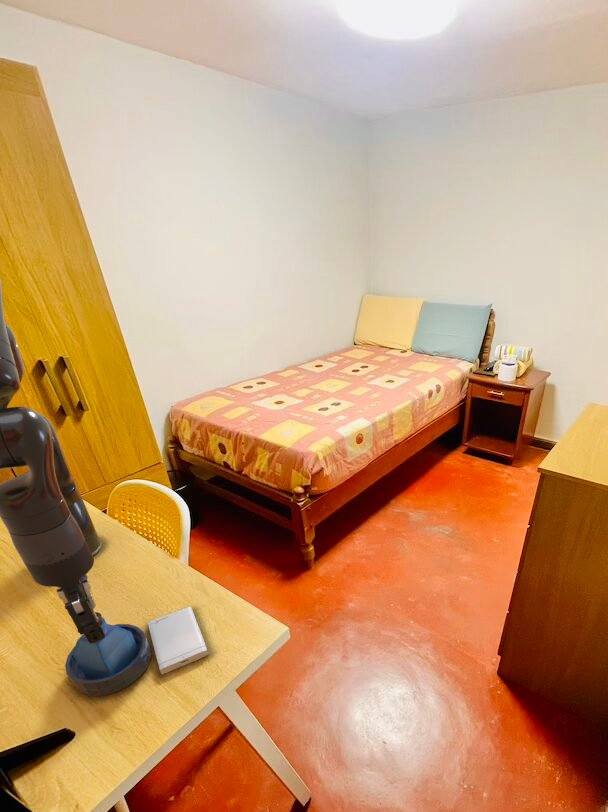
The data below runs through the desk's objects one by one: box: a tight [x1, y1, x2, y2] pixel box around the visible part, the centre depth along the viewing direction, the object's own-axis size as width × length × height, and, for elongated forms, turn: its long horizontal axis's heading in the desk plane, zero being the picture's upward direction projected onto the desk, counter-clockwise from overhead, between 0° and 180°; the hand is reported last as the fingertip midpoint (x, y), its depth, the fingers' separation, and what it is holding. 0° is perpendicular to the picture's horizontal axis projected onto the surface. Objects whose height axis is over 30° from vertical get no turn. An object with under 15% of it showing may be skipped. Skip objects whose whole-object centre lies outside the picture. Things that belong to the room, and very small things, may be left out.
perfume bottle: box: [72, 611, 140, 679], centre depth 72 cm, size 6×6×12 cm
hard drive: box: [147, 606, 209, 675], centre depth 80 cm, size 2×8×12 cm
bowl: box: [64, 623, 152, 697], centre depth 75 cm, size 12×12×4 cm
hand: (92, 622), depth 69 cm, fingers open, 8 cm apart
